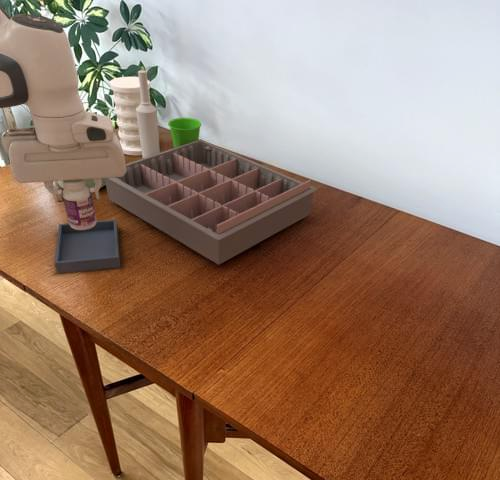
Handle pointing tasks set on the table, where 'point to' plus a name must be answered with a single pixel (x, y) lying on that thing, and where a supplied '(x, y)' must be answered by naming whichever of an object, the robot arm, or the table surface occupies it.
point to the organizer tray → (211, 198)
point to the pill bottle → (78, 204)
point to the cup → (184, 130)
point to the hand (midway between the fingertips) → (78, 199)
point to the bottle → (147, 120)
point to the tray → (87, 247)
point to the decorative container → (128, 112)
